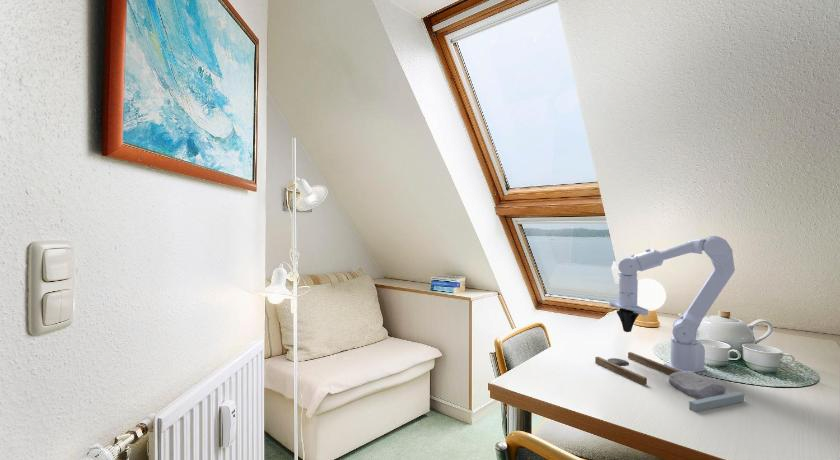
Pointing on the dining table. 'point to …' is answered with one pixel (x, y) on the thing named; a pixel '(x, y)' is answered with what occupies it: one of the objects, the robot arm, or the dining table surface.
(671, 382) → the stone block
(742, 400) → the stop bar
